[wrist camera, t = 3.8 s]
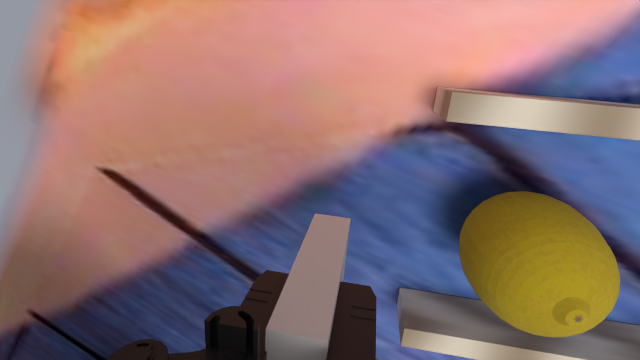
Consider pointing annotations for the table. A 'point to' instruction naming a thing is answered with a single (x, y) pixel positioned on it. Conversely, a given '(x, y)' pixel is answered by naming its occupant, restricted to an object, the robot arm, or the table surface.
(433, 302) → the channel
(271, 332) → the robot arm
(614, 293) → the lemon
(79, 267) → the table surface
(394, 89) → the table surface
